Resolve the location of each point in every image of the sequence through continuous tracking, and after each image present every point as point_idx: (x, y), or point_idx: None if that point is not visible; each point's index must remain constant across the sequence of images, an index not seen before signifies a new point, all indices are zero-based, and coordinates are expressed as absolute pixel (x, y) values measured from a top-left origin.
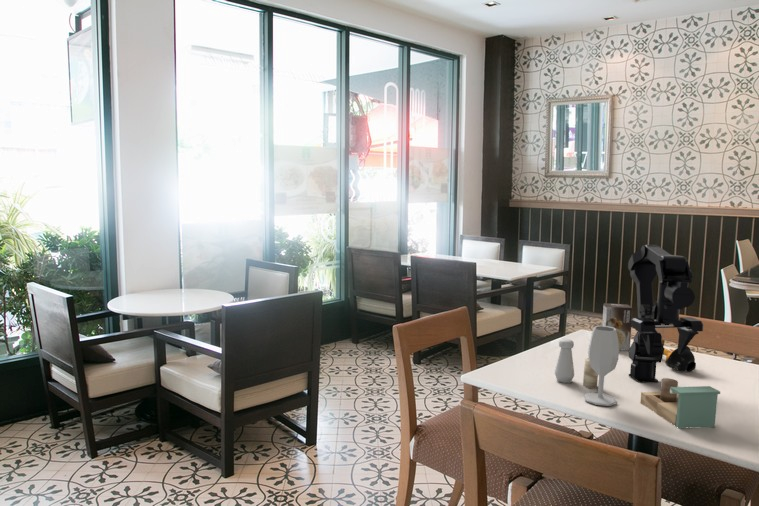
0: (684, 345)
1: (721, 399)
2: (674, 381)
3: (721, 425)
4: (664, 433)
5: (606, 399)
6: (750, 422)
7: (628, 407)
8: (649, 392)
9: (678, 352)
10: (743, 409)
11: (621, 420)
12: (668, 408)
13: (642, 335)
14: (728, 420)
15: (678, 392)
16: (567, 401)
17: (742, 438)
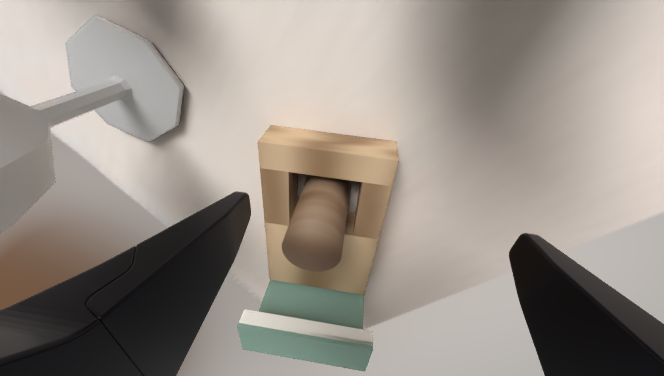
0: (547, 361)
1: (607, 159)
2: (323, 261)
3: (387, 277)
4: (237, 271)
5: (142, 110)
6: (473, 283)
7: (214, 150)
8: (289, 149)
9: (521, 244)
10: (562, 234)
11: (167, 211)
12: (274, 253)
13: (14, 322)
14: (431, 266)
15: (242, 344)
16: (19, 63)
17: (374, 313)
